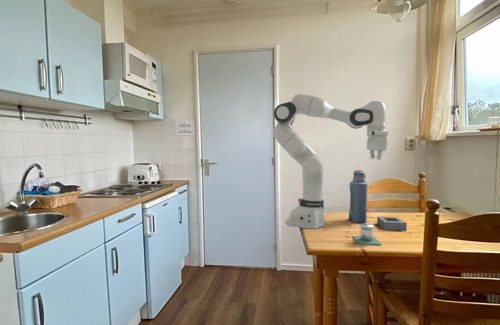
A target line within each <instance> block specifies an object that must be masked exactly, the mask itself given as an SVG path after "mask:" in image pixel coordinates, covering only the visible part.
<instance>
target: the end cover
mask: <svg viewBox="0 0 500 325" xmlns="http://www.w3.org/2000/svg"><path fill="white" fill-rule="evenodd" d="M359 228H360V236H361V240H363V241H367V242H370V241H372V236H373V229H375V225H374V224H372V223H370V222H369V223H368V222H364V223H359Z"/></svg>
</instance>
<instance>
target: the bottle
mask: <svg viewBox="0 0 500 325" xmlns="http://www.w3.org/2000/svg"><path fill="white" fill-rule="evenodd" d="M349 192H350V196H349V200H350V201H349V204H350V205H349V211H348V221H350V222H352V223H359V224H360V223H367V193H368V182H366V179H365V171H364V170H363V169H356V170H354V171H353V177H352V181H349Z"/></svg>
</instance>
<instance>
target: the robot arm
mask: <svg viewBox="0 0 500 325" xmlns="http://www.w3.org/2000/svg"><path fill="white" fill-rule="evenodd" d="M386 113H387V110H386V106H385V103H383V102H382V101H373V100H372V101H369V102H368V103H367V104H365V105H363V106H361V107H357V108H355V109H353V110H352V111H348V110H345V109H340V108H337V107H334V106H332V105H331V104H330V103H329V102H328V101H326V100H325V99H323V98H321V97H318V96H315V95H311V94H303V93H302V94H300V93H297V94H295V95H294V96H293V97H292V99H291V101H286V102H284V103H280V104H278V105H277V106H276V107H275V109H274V110H273V118H274V119H275V121H276V122H277V124H276V125H275V126H274V128H273V130H272V136H273V137H274V138H275V140H276V142H277V143H278V144H279V145H280V146H281V147H282V149H283V150H285V152H287V153H288V155H289V156H290V157H291V158H293V159H294V160H295V161H296V162H297V163H298V164H299V165H300V166H301V168H302V171H301V172H302V198H301V197H300V198H298V199H297V202H298V204H299V205H297V206H296V207H294V208H293V209H292V210H291V211H290V212H289V217H288V218H286V219H285V222H284V224H285V226H287V227H293V228H294V227H295V228H300V229H301V228H303V229H304V228H305V229H313V230H314V229H319V228H321V227H325V226H326V221H325V215H324V208H325V207H324V206H325V202H324V161H323V159H322V158H321V156H319V155H318V154H317V153H316V152H315V151H314V150H313V149H312V148H311V147H310V145H308V144H307V143H306V142H305V141H304V140H303V138H301V136H300V135H298V134H297V133H296V132H295V130H294V129H293V128H292V125H293V123H294V121H295V118H296V116H297V115H304V116H308V117H312V118H322V119H331V120H335V121H339V122H343V123H345V124H346V125H347V126H348V127H350V128H352V129H356V130H357V129H360V128H363V127H364V126H366V137H367V141H366V150H367V151H369V155H370V159H376V160H378V161H379V160H382V155H383V152H384V151H386V150H387V148H388V147H387V146H388V136H389V131H388V130H387V129H386V119H387V118H386V117H387V114H386ZM375 152H376V155H375Z"/></svg>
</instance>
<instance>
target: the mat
mask: <svg viewBox="0 0 500 325" xmlns="http://www.w3.org/2000/svg"><path fill="white" fill-rule="evenodd" d="M352 238H353V240H354V241H355V242H356V244H358V245H362V246H363V245H366V246H367V245H368V246H382V243H381V242H380V241H379V240H378V239H377V238H376V237H375V236H373V235H372V241H370V242H367V241H363V240H361V235H352Z"/></svg>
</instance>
